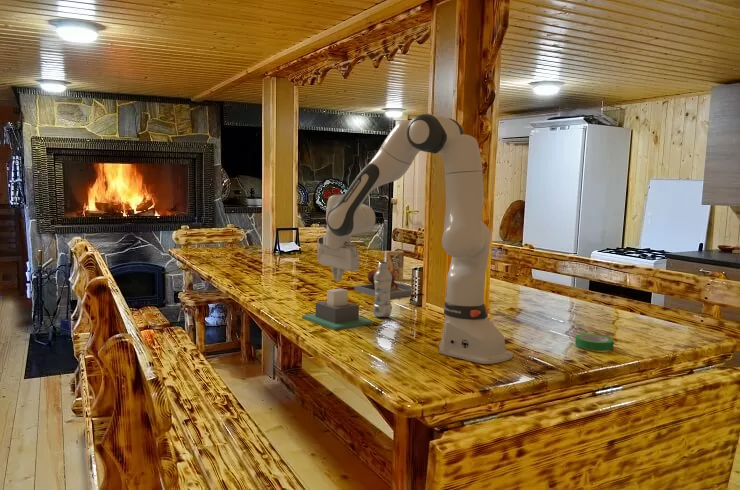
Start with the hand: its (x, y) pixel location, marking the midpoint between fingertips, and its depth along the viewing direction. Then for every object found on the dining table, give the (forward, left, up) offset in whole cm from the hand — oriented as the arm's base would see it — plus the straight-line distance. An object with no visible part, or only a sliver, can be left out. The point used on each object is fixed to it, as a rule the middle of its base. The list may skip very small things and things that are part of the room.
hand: (337, 280), depth 202 cm
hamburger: (+34, -50, -15) cm, 62 cm away
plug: (0, 0, -12) cm, 12 cm away
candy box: (+50, -70, -15) cm, 87 cm away
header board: (0, 0, -14) cm, 14 cm away
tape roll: (-69, -49, -15) cm, 86 cm away
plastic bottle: (-4, -17, -15) cm, 23 cm away
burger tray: (+28, -48, -14) cm, 57 cm away
